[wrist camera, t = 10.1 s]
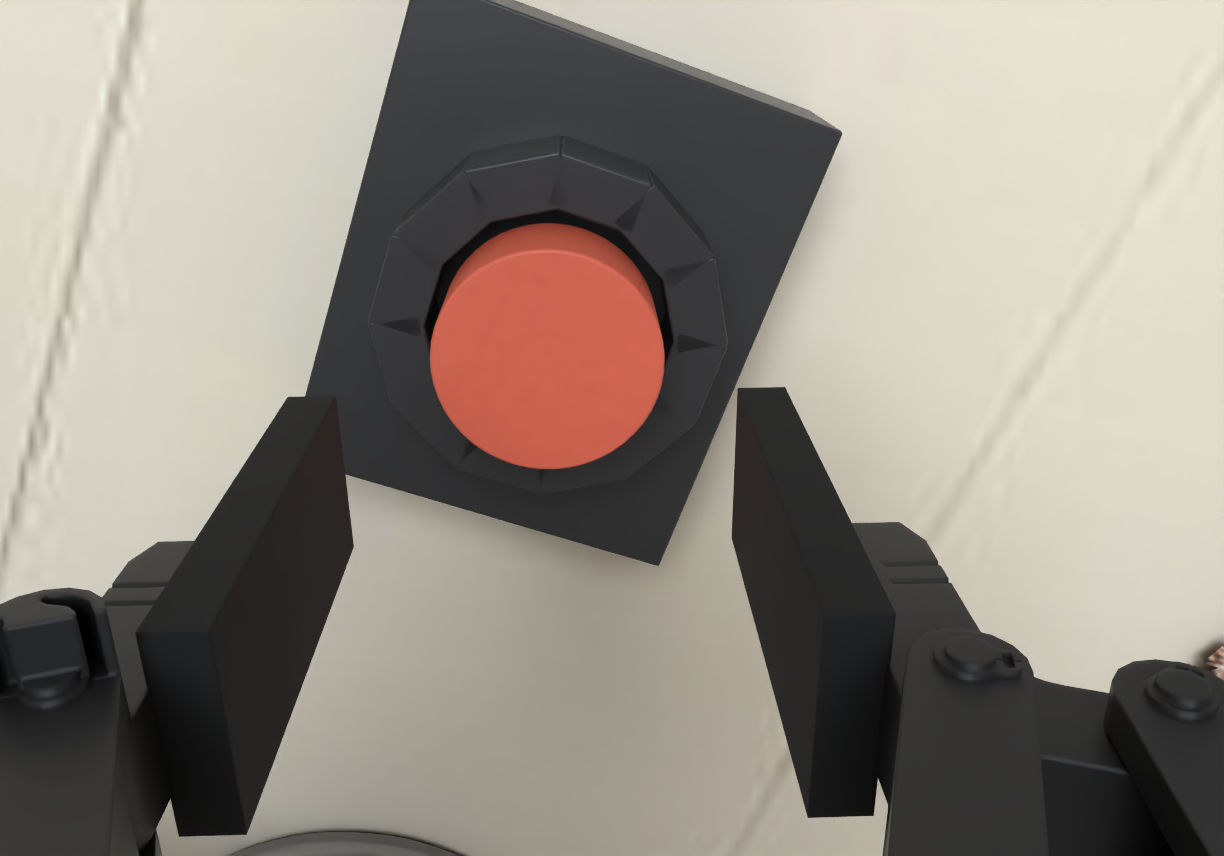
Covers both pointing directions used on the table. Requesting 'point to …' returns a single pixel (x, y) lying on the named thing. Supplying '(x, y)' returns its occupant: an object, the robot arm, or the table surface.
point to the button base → (572, 195)
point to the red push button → (547, 347)
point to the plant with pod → (1217, 662)
